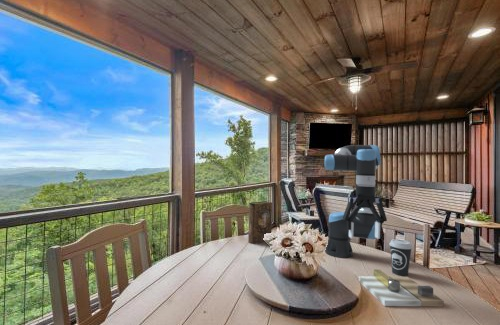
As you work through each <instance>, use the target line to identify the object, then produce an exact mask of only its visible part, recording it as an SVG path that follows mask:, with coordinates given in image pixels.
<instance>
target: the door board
mask: <svg viewBox="0 0 500 325" xmlns="http://www.w3.org/2000/svg"><path fill="white" fill-rule="evenodd" d="M388 276H389V275H388ZM389 277H390V278H392V279H395V280H398V281H399V282H400V291H399V292H394V291H391V290H389V289H388V287H387V286H386V285H384V284H383V283H382V282H381V281H380V280H378V279H377V278H376V277H375V276H374V275H372V276H371V275H370V276H369V275H368V276H366V275H364V276H363V275H362V276H359V275H358V282H359V283H360V284H361V285H362V286H363V287H364V288H366V290H367V291H368V292H370V294H372V296H374V297H375V298H376V299H377V300H378V301H379V302H380V303H381V304H382V305H383V306H384V307H445V306H444V304H445V301H444V300H443V299H442V298H440V297H439V296H437V295H436V294H434V287H432V286H431V285H421V284H419V283H418V282H416V281H415V280H413V279H412V278H410V276H409V277H408V276H389Z"/></svg>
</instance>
